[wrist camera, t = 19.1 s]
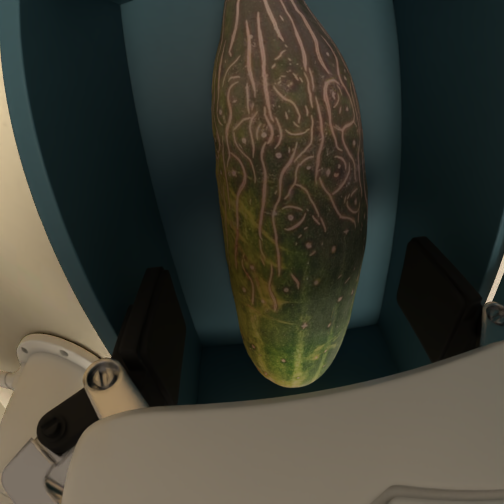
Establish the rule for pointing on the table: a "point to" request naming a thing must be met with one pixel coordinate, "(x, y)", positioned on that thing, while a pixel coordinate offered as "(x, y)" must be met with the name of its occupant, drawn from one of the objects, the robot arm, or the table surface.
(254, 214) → the vegetable
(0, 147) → the table surface
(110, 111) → the cool box
